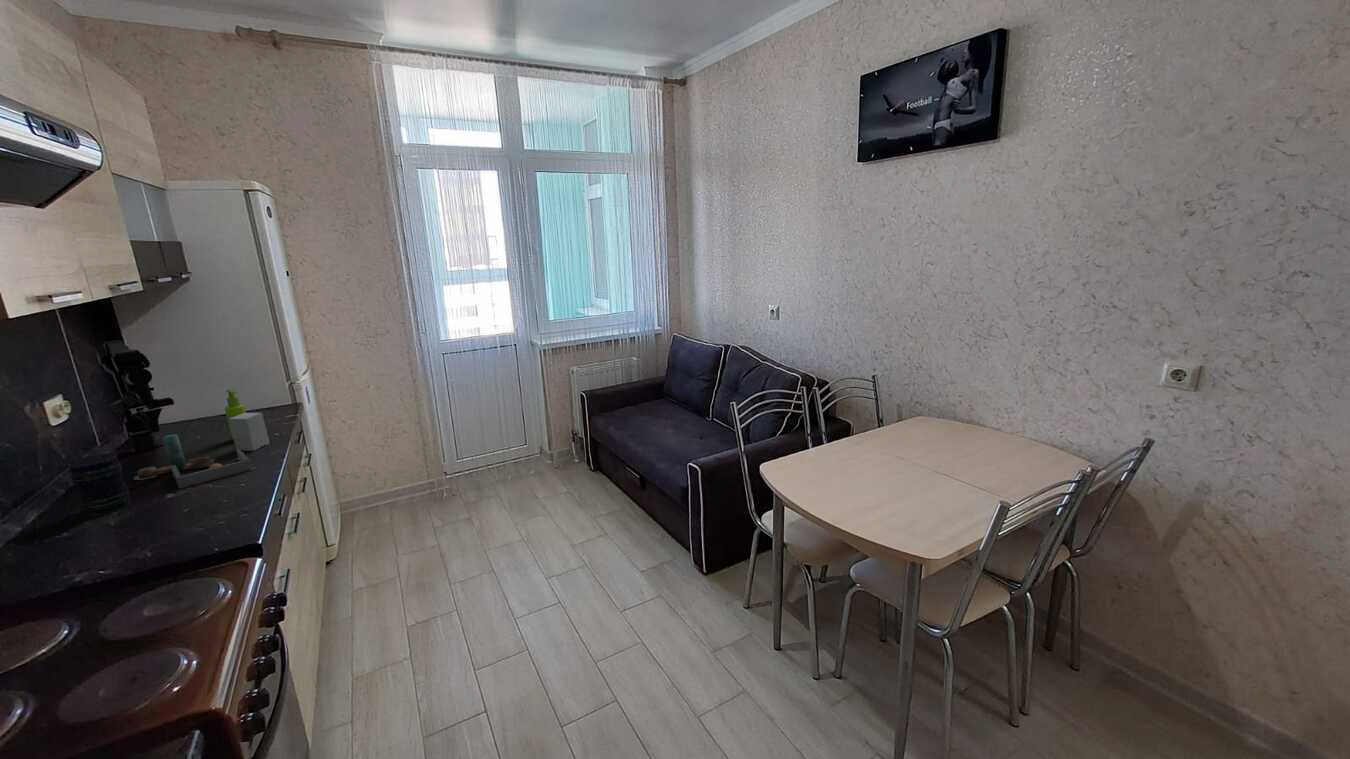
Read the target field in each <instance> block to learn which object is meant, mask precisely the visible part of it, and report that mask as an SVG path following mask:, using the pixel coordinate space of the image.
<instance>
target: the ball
mask: <svg viewBox="0 0 1350 759" xmlns="http://www.w3.org/2000/svg"><path fill="white" fill-rule="evenodd" d="M219 466H223V464H220V463H214V464H212V465H211V466H208V469H211V468H215V467H219Z"/></svg>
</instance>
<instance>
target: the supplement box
mask: <svg viewBox="0 0 1350 759" xmlns="http://www.w3.org/2000/svg"><path fill="white" fill-rule="evenodd" d="M228 420H229V423H230V427H231V431H232V435H233V439H234V441H233V442H234V446H235V449H236V450H243V451H242V452H254V450H255V451H257V450H259V449H258V448H260V447H262V446H264V445H266V446H268V445H270V444H269V443H270V440H269V435H268V431H267V427H266V423H265V419H264V414H263V412H246V413H243V414H240V415H238V416H235V417H232V418H230V419H227V421H228ZM229 423H228V424H229ZM230 427H229V428H230ZM231 431H230V432H231ZM232 435H231V436H232ZM233 439H232V440H233ZM267 444H268V445H267ZM264 447H265V446H264ZM262 448H263V447H262ZM256 449H257V450H256ZM260 449H261V448H260ZM236 450H235V451H236ZM245 450H246V451H245Z"/></svg>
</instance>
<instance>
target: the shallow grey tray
mask: <svg viewBox="0 0 1350 759" xmlns="http://www.w3.org/2000/svg"><path fill="white" fill-rule="evenodd" d="M235 452H236V456H237V459H238V461H236V462H232V463H227V464H224V465H223V464H222V465H223V466H219V467H215V468H211V469H204V470H199V471H196V472H191V473H188V474H183V475H181V474H180V471H178V469H177V467H176V465H173V466H171V465H170V466H171V470H172V472H171V474H172V477H173V478H174V481H175V482H176V485H177V487H178V489H179V488H180V489H182V488H181V487H184V488H187V487H186V486H188V487H190V486H189V485H192V486H194V484H195V485H198V484H202V483H205V482H206V483H207V482H211V481H213V480H214V481H215V480H217V479H221V478H225V477H228V476H229V477H230V476H232V475H236V474H241V473H244V472H248V471H252V470H253V468H252V464H251V460H250V459H249V458H248V457H247V456H246V454H245V452H244V451H241V450H235Z"/></svg>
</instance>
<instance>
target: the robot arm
mask: <svg viewBox="0 0 1350 759" xmlns="http://www.w3.org/2000/svg"><path fill="white" fill-rule="evenodd" d="M96 358H97V361H98V363H99V365H100V366H101V365H102V367H103V369H104V371H105V372H107V373H109V374H111V375H112V377H113V379H114V382H115V384H116V386H117V389H118V391H119V394H120V396H121V398H120V399H118V400H116V401H114V402H112V403H110V404H109V405H108V406H109V408H110V410H112V412H113V413H115V416H116V417H120V416H124V419H123V421H124V422H122V425H123V432H124V435H125V437H126V438H127V439H131V444H132V448H133V449H132V450H130V453H131V452H133V453H138V452H137V451H148V452H151V451H153V450H152V449H154V450H155V448H156V447H158V446H160V444H161V445H162V446H163V443H158V440H157V437H156V434H155V433H156V432H160V431H161V430H160V425H159V417H160V415H161V412H162V410H164V408H163V407H169V406H174V405H175V400H174V399H173V398H171V397H169V396H168V397H163V398H154V396H153V391H154V390H155V387H154V386H153V387H150V384H149V383H150V382H151V381H152V379H153V375H152V373H151V372H150V370H148V368H150V366H151V363H150V360H149V359H148V357H147V356H146V355H145V354H144V353H143V352H140V350H138V349H136V348H135V349H130V347H129V346H128V345H126V344H125V342H124V340H120V339H119V340H111V341H105V342H103V346H101V347H100V348H99V349H96ZM160 447H161V446H160ZM158 448H159V447H158ZM156 449H157V448H156ZM150 450H151V451H150Z"/></svg>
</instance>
